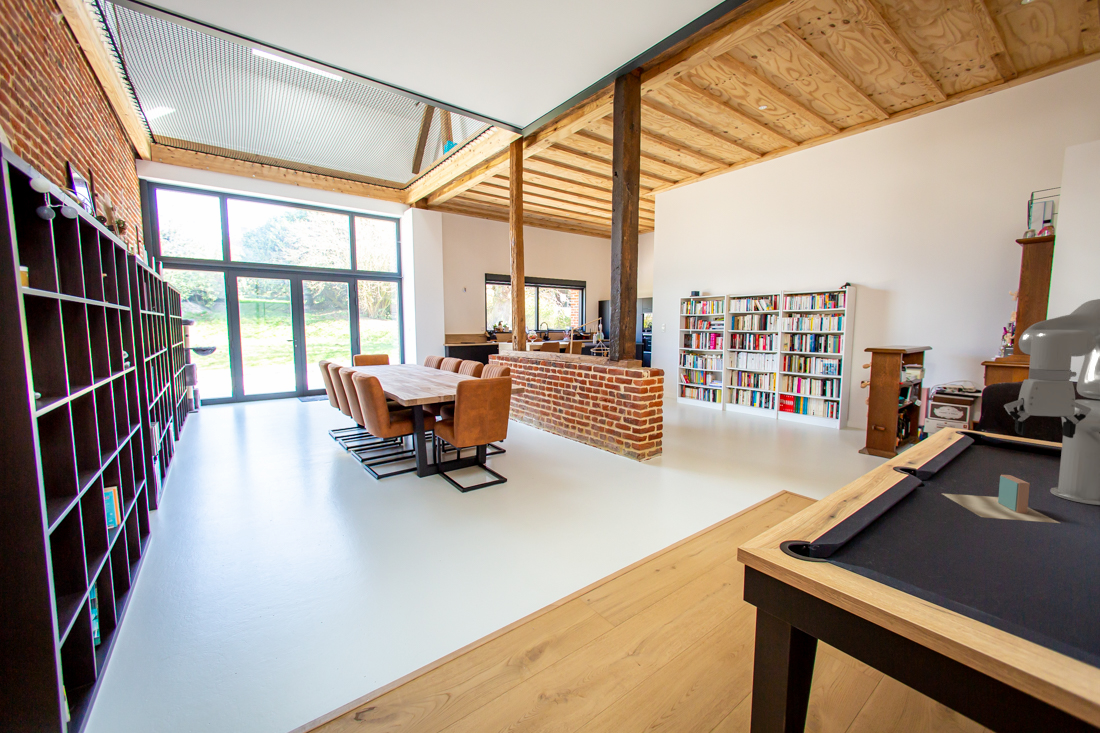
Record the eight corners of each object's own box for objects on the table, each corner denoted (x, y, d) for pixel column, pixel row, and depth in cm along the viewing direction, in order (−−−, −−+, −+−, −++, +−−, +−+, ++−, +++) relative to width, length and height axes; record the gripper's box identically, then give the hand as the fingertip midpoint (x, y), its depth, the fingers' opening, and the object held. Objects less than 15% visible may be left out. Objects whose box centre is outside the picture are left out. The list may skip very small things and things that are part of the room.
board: (1008, 500, 136) (1008, 497, 136) (1060, 526, 119) (1060, 523, 119) (940, 496, 140) (941, 493, 140) (981, 520, 123) (981, 517, 123)
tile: (1007, 503, 132) (1010, 475, 131) (1027, 513, 125) (1029, 483, 124) (997, 503, 132) (999, 474, 131) (1015, 512, 125) (1018, 482, 125)
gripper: (1082, 374, 121) (1077, 434, 122) (1000, 373, 127) (995, 430, 129) (1103, 378, 114) (1097, 441, 115) (1014, 376, 121) (1010, 436, 122)
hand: (1043, 435), depth 122 cm, fingers open, 9 cm apart
